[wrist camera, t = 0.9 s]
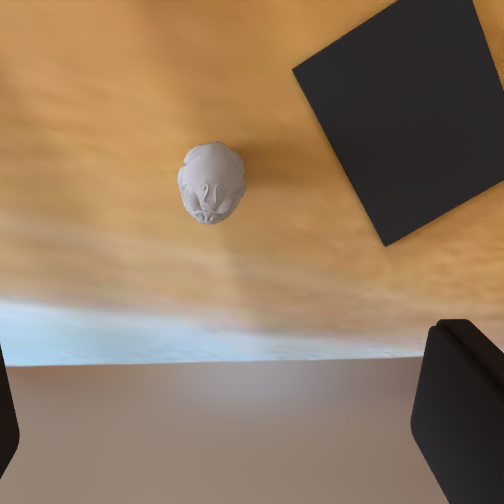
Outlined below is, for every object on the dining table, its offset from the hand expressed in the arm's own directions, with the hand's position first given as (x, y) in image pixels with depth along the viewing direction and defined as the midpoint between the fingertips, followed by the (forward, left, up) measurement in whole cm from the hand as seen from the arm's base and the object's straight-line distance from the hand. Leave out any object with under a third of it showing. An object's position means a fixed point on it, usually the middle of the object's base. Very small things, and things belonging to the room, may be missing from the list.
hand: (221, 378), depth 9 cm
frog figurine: (+1, -2, -34) cm, 34 cm away
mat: (+7, +17, -34) cm, 39 cm away
